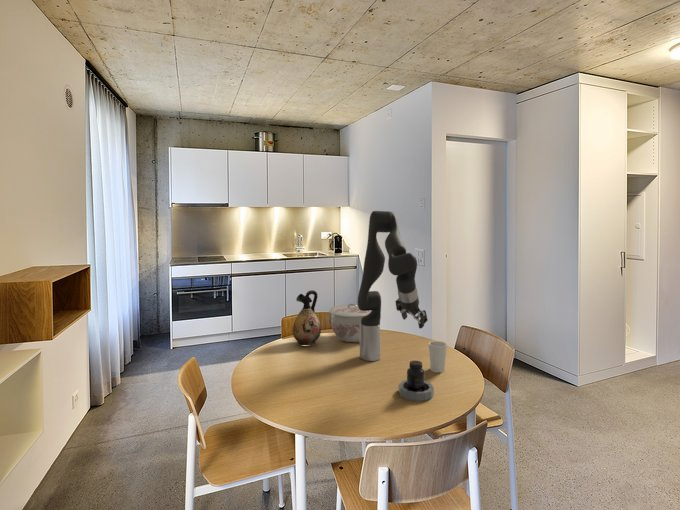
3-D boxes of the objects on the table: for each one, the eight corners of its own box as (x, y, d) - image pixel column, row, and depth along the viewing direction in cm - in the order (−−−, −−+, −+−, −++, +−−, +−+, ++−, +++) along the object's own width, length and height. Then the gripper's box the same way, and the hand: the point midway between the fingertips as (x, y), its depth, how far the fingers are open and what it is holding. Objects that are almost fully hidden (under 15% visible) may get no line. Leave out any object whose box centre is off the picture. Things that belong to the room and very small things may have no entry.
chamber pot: (383, 345, 213) (382, 307, 211) (333, 348, 209) (332, 310, 207) (370, 330, 241) (370, 297, 239) (326, 333, 236) (325, 299, 234)
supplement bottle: (403, 390, 155) (403, 360, 154) (418, 387, 158) (418, 358, 156) (412, 397, 149) (412, 366, 148) (428, 394, 151) (428, 364, 150)
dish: (394, 397, 151) (394, 389, 150) (405, 384, 162) (405, 377, 162) (427, 404, 144) (427, 396, 144) (436, 390, 156) (437, 383, 156)
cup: (447, 373, 173) (447, 347, 171) (428, 372, 174) (428, 346, 173) (446, 367, 180) (446, 341, 179) (428, 366, 182) (428, 340, 181)
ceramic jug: (300, 350, 206) (299, 294, 203) (288, 343, 219) (287, 290, 216) (328, 344, 215) (327, 290, 212) (315, 337, 228) (314, 286, 225)
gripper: (428, 296, 152) (432, 324, 161) (400, 283, 161) (405, 310, 171) (416, 308, 148) (421, 336, 158) (388, 294, 158) (394, 320, 168)
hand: (413, 322), depth 164 cm, fingers open, 8 cm apart
